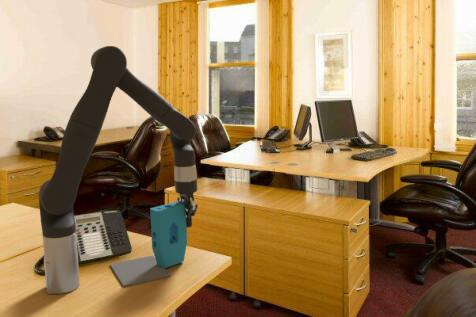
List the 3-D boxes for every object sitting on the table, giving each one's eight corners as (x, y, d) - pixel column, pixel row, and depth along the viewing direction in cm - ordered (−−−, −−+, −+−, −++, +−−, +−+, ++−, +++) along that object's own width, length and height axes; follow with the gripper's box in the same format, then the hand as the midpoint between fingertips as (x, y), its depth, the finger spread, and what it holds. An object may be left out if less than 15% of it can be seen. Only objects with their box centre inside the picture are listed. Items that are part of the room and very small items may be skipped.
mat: (123, 287, 129) (123, 285, 128) (110, 265, 144) (110, 263, 144) (170, 276, 136) (170, 274, 136) (152, 257, 151) (152, 255, 151)
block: (160, 270, 139) (157, 211, 136) (151, 265, 143) (149, 208, 139) (188, 259, 148) (187, 204, 144) (180, 255, 151) (178, 201, 148)
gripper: (168, 176, 147) (171, 223, 150) (182, 183, 136) (185, 234, 139) (188, 173, 151) (190, 219, 154) (203, 180, 139) (206, 230, 143)
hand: (188, 226), depth 146 cm, fingers closed
